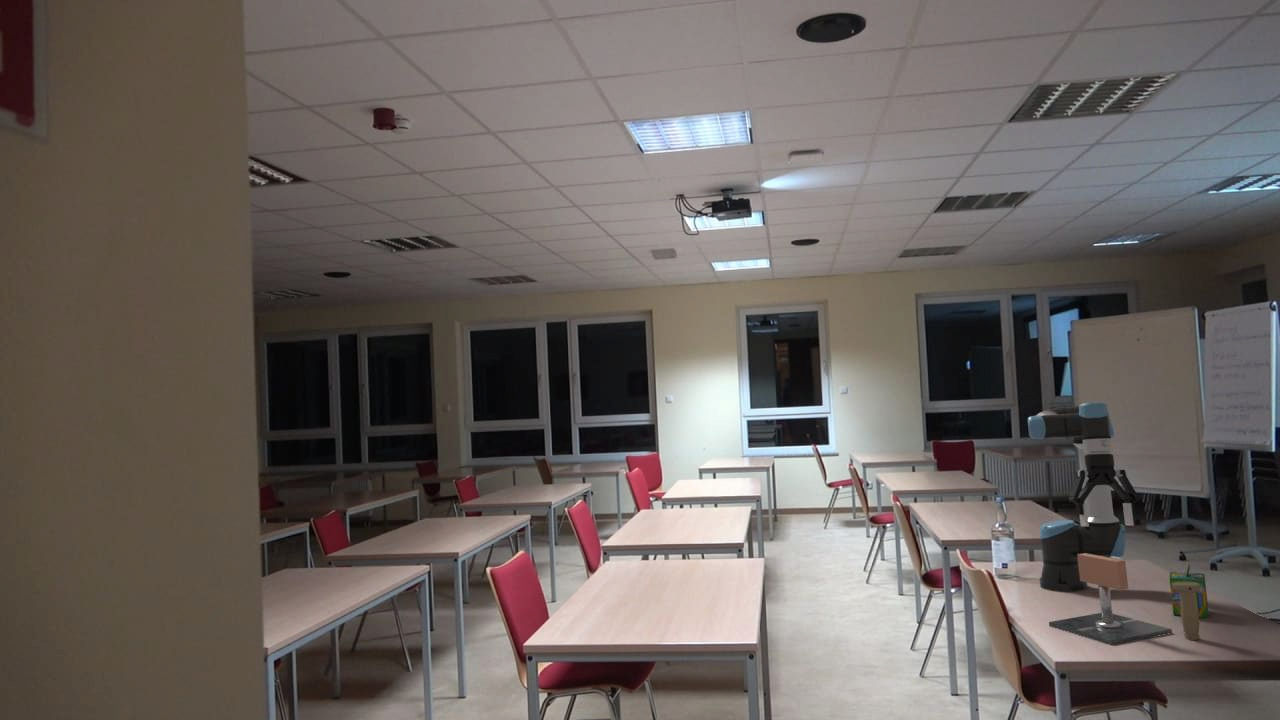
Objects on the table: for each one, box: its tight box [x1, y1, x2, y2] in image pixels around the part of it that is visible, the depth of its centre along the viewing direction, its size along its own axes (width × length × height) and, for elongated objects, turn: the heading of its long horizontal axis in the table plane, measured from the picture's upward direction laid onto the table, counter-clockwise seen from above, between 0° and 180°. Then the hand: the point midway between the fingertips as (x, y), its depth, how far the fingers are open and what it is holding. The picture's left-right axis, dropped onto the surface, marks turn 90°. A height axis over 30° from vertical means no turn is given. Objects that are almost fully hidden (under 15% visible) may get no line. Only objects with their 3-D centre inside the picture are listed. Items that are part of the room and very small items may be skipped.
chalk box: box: [1169, 563, 1210, 618], centre depth 238 cm, size 9×9×15 cm
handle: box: [1172, 582, 1200, 641], centre depth 215 cm, size 5×6×15 cm
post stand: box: [1048, 585, 1173, 646], centre depth 228 cm, size 22×22×13 cm
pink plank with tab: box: [1077, 553, 1129, 591], centre depth 229 cm, size 3×14×9 cm, turn 16°
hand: (1107, 526), depth 229 cm, fingers open, 13 cm apart
